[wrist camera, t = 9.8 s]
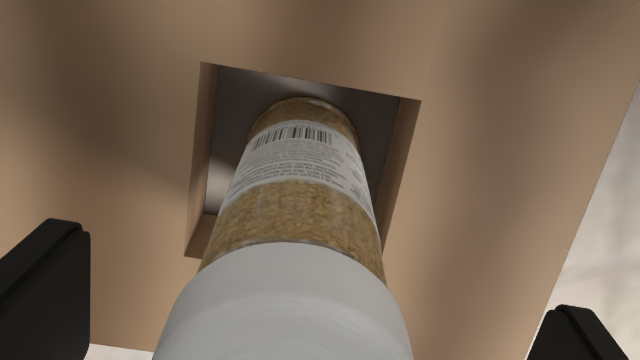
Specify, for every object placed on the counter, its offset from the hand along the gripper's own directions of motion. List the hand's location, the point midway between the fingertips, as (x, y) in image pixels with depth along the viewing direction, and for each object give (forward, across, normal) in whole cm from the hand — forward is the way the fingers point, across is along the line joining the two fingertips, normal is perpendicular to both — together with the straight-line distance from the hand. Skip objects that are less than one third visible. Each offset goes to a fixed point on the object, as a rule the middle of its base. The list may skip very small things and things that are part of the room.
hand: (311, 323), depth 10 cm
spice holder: (+11, +1, 0) cm, 11 cm away
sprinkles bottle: (+11, +1, 0) cm, 11 cm away
